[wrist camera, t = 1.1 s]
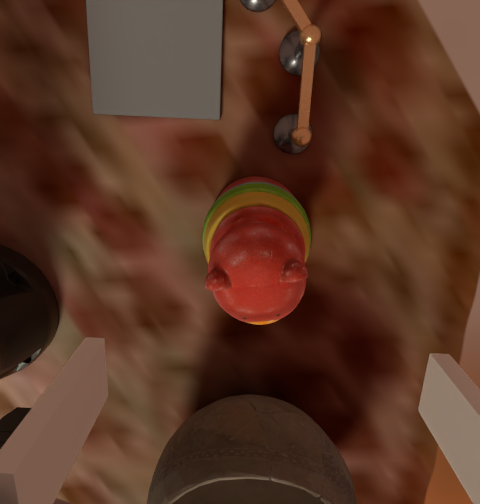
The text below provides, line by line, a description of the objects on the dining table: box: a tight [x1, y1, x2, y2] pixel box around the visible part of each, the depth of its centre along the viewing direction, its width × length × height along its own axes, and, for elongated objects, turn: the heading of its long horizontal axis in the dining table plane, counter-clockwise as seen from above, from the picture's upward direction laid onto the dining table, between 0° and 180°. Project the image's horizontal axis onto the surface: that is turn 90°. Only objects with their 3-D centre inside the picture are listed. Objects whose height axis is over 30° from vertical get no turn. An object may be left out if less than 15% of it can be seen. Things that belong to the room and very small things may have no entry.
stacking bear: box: [203, 176, 311, 325], centre depth 33 cm, size 11×10×18 cm
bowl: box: [147, 394, 357, 504], centre depth 43 cm, size 21×21×15 cm
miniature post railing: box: [240, 0, 322, 154], centre depth 33 cm, size 8×16×9 cm, turn 177°
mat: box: [86, 0, 223, 120], centre depth 37 cm, size 12×12×1 cm
